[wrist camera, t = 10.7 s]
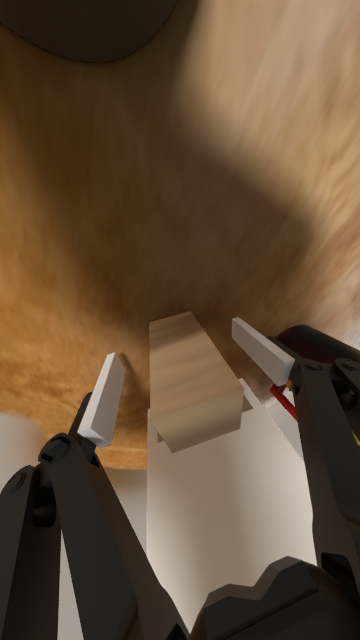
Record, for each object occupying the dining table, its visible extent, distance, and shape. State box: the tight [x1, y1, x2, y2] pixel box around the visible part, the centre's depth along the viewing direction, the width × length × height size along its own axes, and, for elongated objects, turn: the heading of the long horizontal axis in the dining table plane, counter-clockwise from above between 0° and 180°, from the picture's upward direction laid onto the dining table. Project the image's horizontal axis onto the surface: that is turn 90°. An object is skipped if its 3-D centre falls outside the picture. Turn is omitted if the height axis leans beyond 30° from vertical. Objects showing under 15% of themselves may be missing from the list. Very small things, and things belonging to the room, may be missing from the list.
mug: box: [270, 325, 360, 449], centre depth 19 cm, size 10×14×12 cm
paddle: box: [149, 311, 244, 453], centre depth 17 cm, size 25×5×10 cm, turn 11°
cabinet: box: [147, 378, 317, 633], centre depth 19 cm, size 15×18×20 cm
